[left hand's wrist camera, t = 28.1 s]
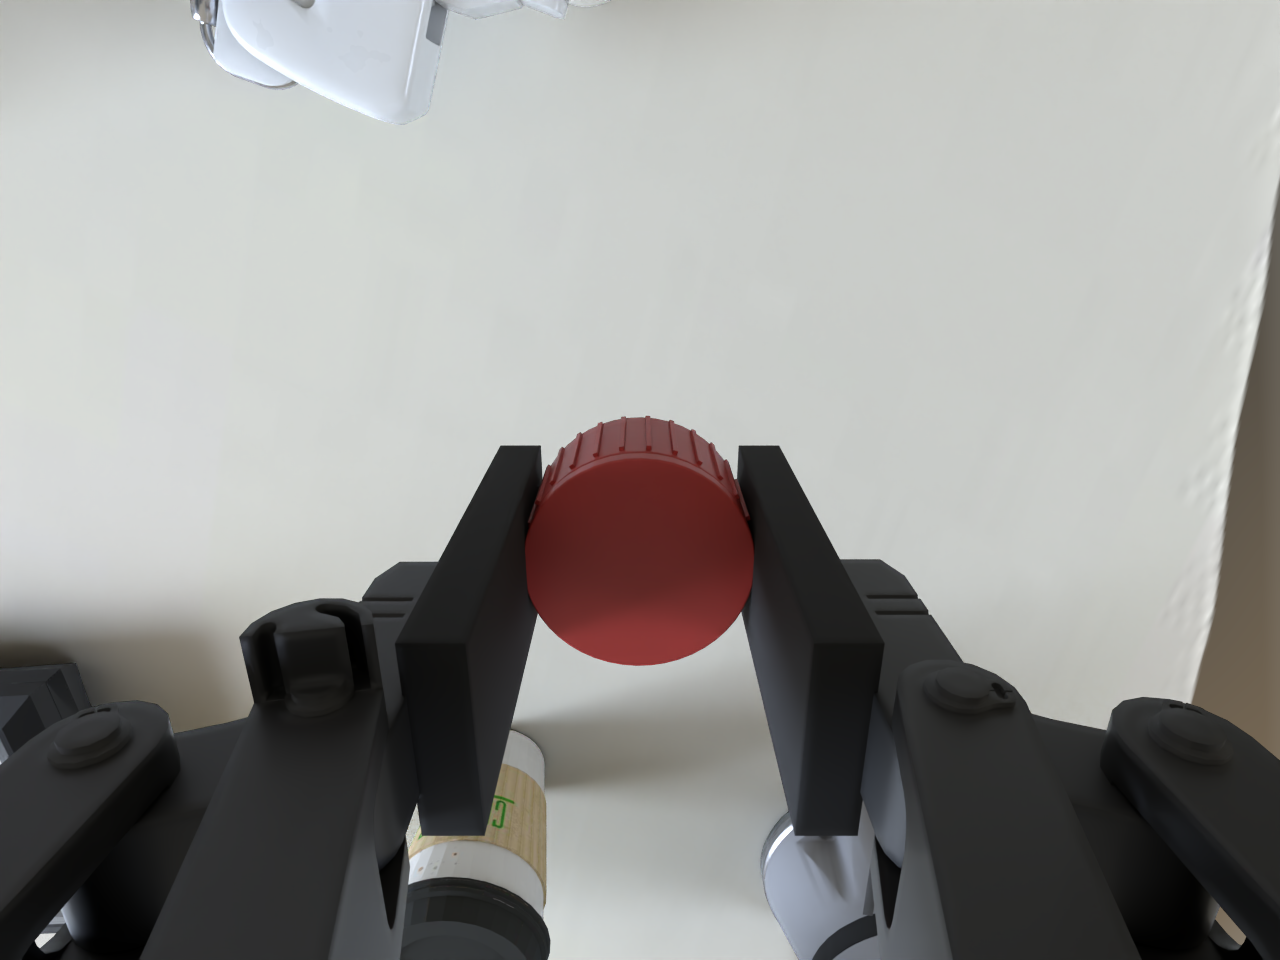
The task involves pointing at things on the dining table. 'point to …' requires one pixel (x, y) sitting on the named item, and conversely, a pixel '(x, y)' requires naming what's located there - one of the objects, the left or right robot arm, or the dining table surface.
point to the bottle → (587, 2)
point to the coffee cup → (485, 875)
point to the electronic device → (37, 711)
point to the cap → (639, 543)
